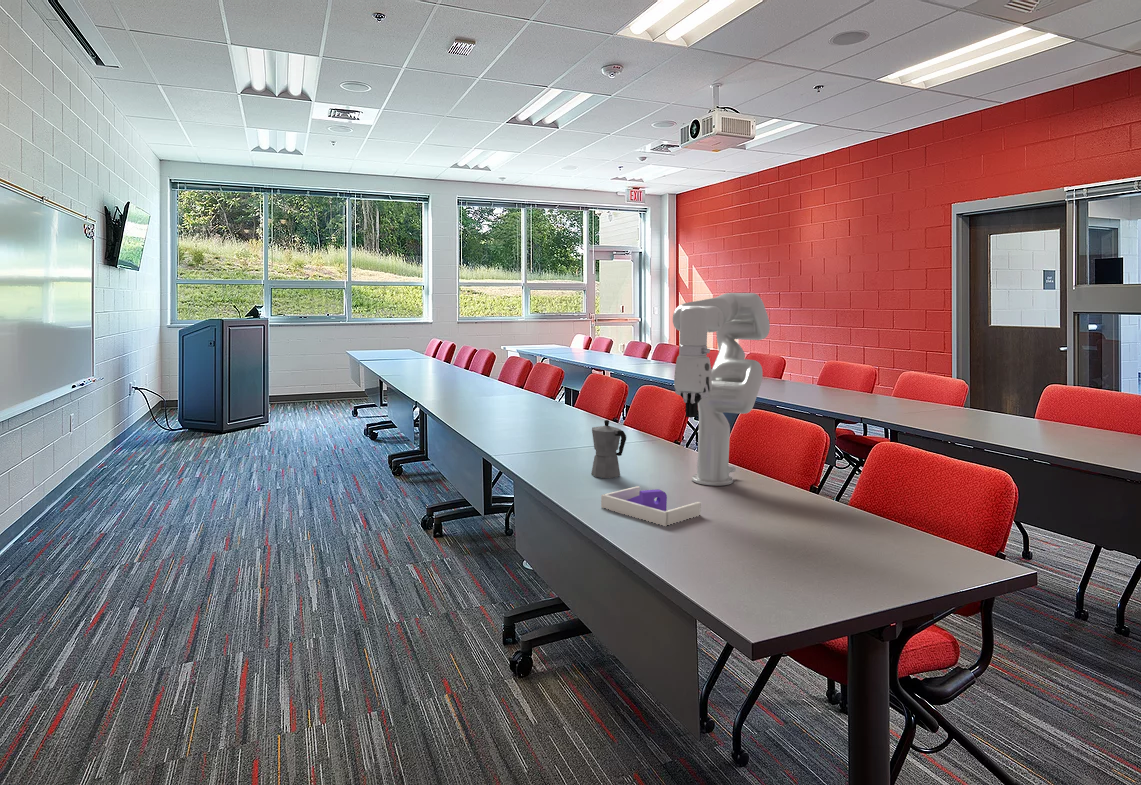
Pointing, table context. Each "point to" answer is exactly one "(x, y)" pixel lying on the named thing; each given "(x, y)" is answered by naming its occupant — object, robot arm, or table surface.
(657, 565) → the table surface
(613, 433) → the coffeepot
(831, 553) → the table surface
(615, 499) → the white u-shaped fence
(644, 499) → the bracket
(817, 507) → the table surface
